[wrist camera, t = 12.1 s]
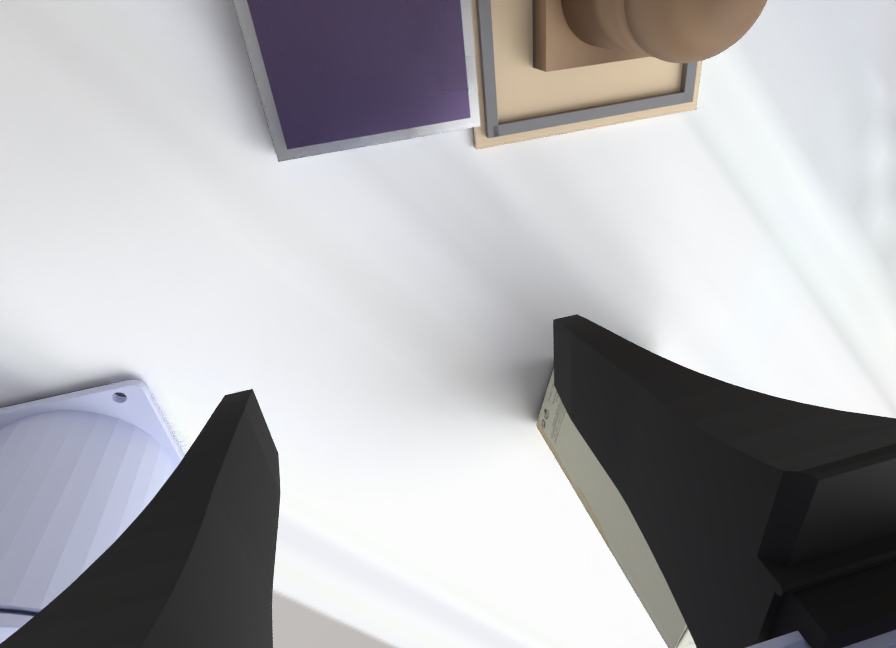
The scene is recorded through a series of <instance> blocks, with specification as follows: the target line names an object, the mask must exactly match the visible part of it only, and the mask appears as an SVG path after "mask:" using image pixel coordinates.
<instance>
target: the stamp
mask: <svg viewBox="0 0 896 648" xmlns="http://www.w3.org/2000/svg"><path fill="white" fill-rule="evenodd" d="M766 2H767V0H532V17H533V68H535V69H538V70H541V71H545V72H549V71H556V70H563V69H570V68H576V67H583V66H590V65H597V64H604V63H611V62H617V61H624V60H631V59H638V58H645V57H655V58H657V59H660V60H663V61H666V62H670V63H693V62H698V61H702V60H705V59H708V58H710V57H713V56H715V55H717V54H719V53H721V52H723V51H724V50H726V49H727V48H729V47H730V46H732V45H733V44H735V43H736V42H737V41H738V40H739V39H740V38H741V37H742V36H743V35H744V34H745V33H746V32H747V31H748V30H749V29H750V28H751V26H752V25H753V24H754V23H755V21H756V20H757V18H758V17H759V15H760V14H761V12H762V10H763V8H764V6H765V4H766Z"/></svg>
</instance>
